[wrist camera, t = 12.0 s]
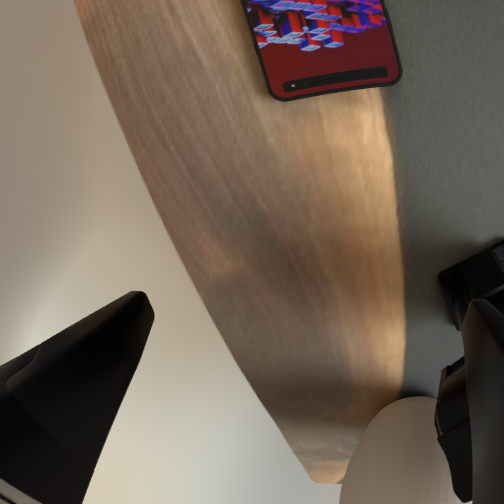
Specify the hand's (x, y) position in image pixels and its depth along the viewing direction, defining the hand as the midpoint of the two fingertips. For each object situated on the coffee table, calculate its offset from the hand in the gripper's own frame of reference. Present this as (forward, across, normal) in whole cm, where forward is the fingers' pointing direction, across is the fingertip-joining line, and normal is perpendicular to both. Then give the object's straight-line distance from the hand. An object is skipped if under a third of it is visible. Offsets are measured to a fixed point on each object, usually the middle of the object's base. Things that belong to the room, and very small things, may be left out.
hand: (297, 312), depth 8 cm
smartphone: (+13, 0, -12) cm, 18 cm away
